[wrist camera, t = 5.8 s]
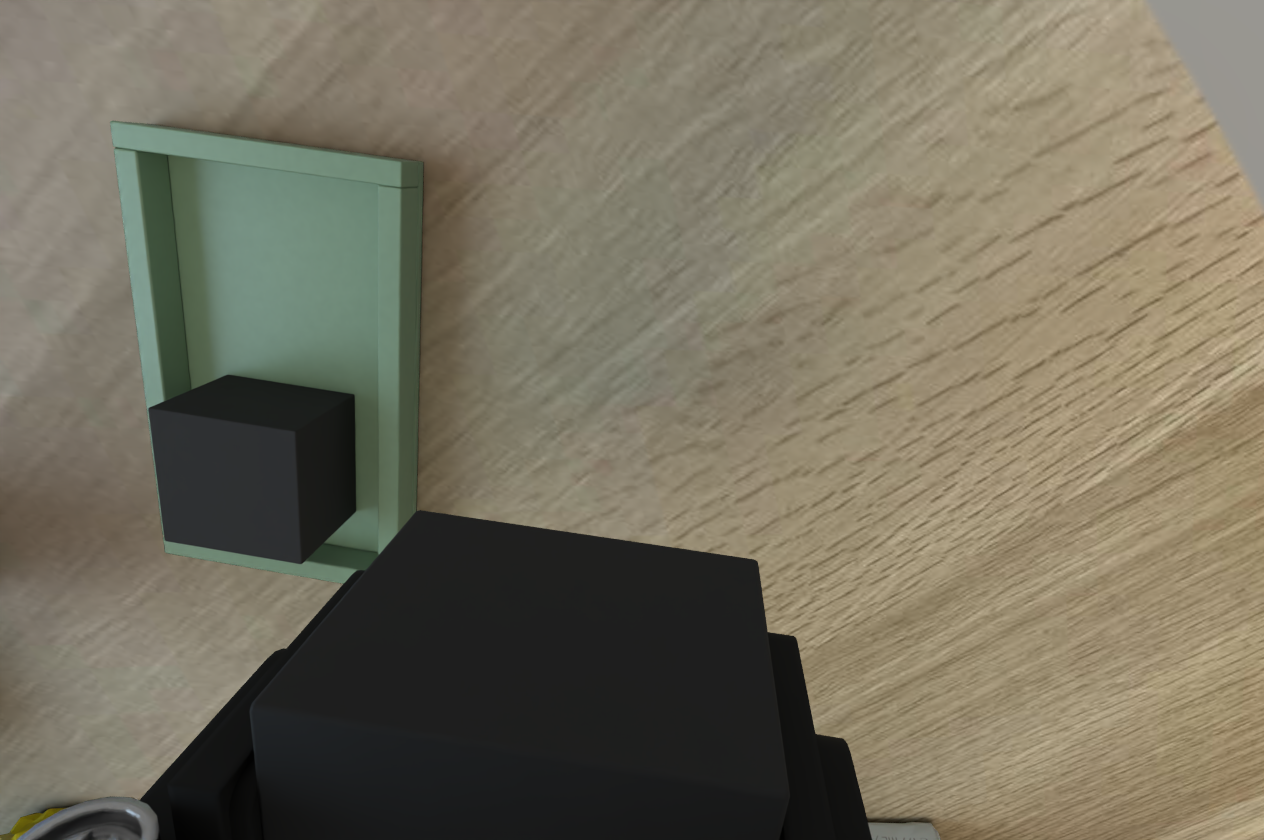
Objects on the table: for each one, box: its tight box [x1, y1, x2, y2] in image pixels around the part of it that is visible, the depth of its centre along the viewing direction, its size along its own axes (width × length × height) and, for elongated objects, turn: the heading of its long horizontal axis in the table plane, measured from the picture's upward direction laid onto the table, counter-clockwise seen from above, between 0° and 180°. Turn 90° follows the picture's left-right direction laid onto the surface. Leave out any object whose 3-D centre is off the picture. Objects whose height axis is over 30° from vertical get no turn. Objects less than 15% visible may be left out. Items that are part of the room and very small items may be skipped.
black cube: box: [249, 510, 790, 840], centre depth 9 cm, size 5×5×4 cm
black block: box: [148, 375, 356, 564], centre depth 25 cm, size 5×5×4 cm
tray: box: [110, 121, 423, 584], centre depth 25 cm, size 16×10×2 cm, turn 173°
